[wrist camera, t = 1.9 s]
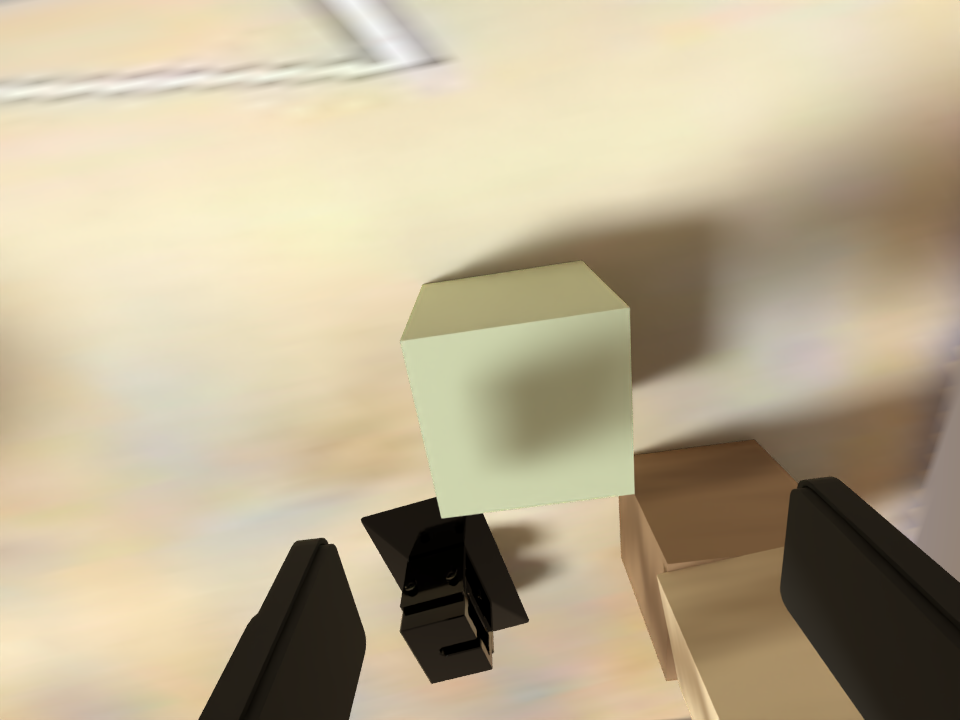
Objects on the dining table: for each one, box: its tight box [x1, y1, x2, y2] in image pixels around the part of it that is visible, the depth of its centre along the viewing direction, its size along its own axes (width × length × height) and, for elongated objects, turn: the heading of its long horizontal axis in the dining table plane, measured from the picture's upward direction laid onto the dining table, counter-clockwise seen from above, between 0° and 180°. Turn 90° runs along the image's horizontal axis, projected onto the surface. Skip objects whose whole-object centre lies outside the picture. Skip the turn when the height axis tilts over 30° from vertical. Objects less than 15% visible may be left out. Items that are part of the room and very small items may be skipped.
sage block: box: [400, 260, 635, 518], centre depth 16 cm, size 6×6×6 cm
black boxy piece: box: [361, 497, 529, 684], centre depth 22 cm, size 12×7×5 cm, turn 19°
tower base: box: [619, 440, 798, 681], centre depth 19 cm, size 6×6×6 cm
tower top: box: [657, 547, 864, 720], centre depth 14 cm, size 6×6×6 cm
